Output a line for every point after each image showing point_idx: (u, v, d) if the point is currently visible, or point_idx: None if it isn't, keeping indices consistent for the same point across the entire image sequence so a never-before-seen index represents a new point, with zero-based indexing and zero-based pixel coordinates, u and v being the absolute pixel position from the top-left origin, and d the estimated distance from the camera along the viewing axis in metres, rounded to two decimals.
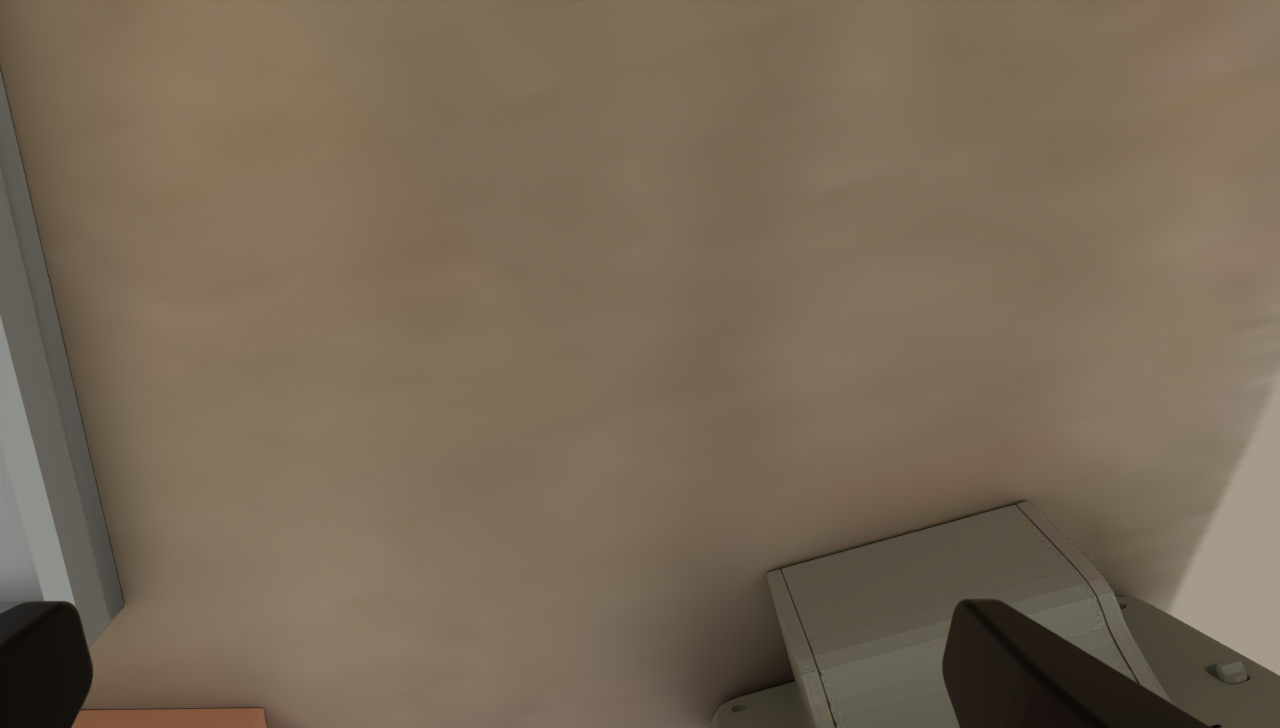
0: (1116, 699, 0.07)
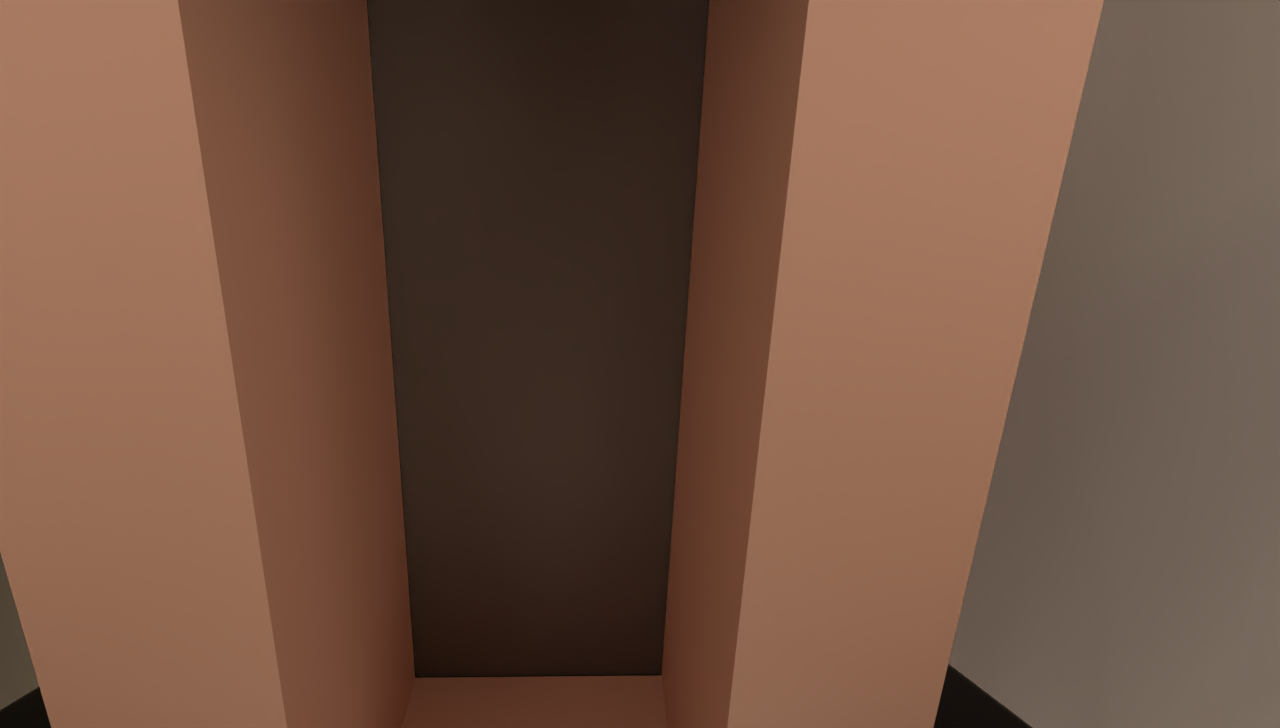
0: (947, 701, 0.06)
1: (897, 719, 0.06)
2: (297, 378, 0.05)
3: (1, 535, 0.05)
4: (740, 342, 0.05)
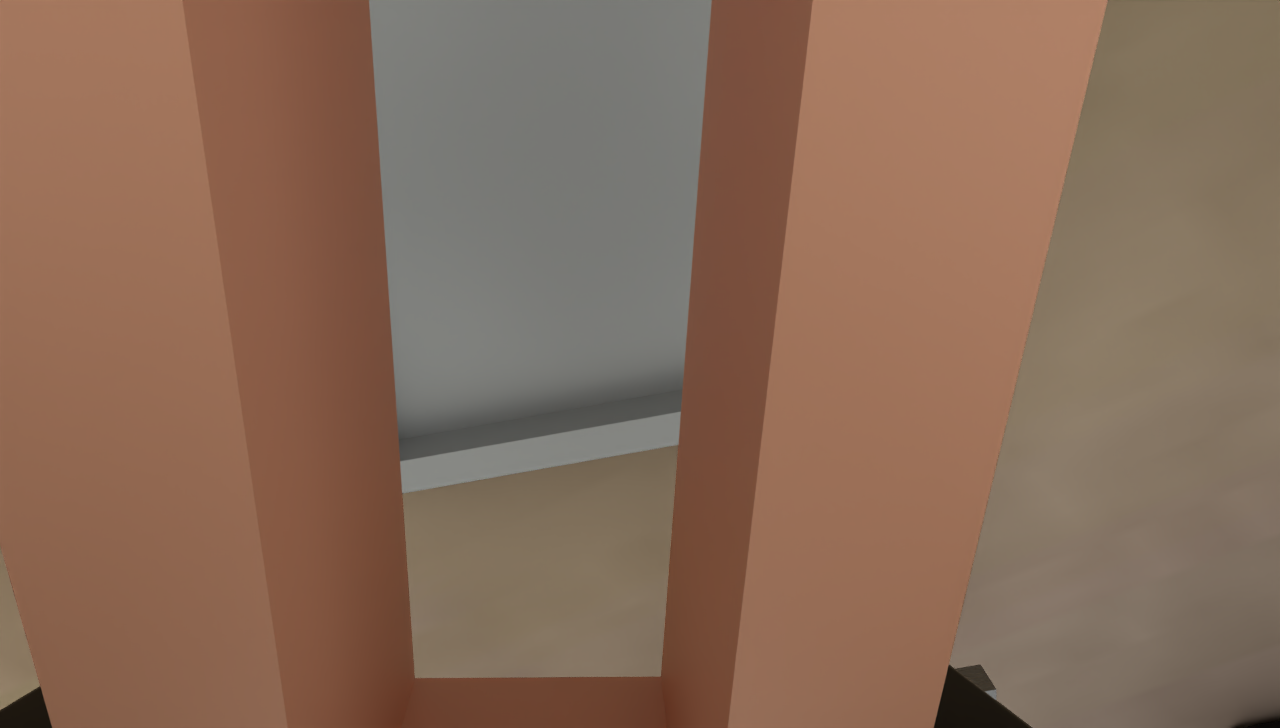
0: (947, 701, 0.06)
1: (896, 721, 0.06)
2: (301, 380, 0.05)
3: (3, 535, 0.05)
4: (742, 345, 0.05)
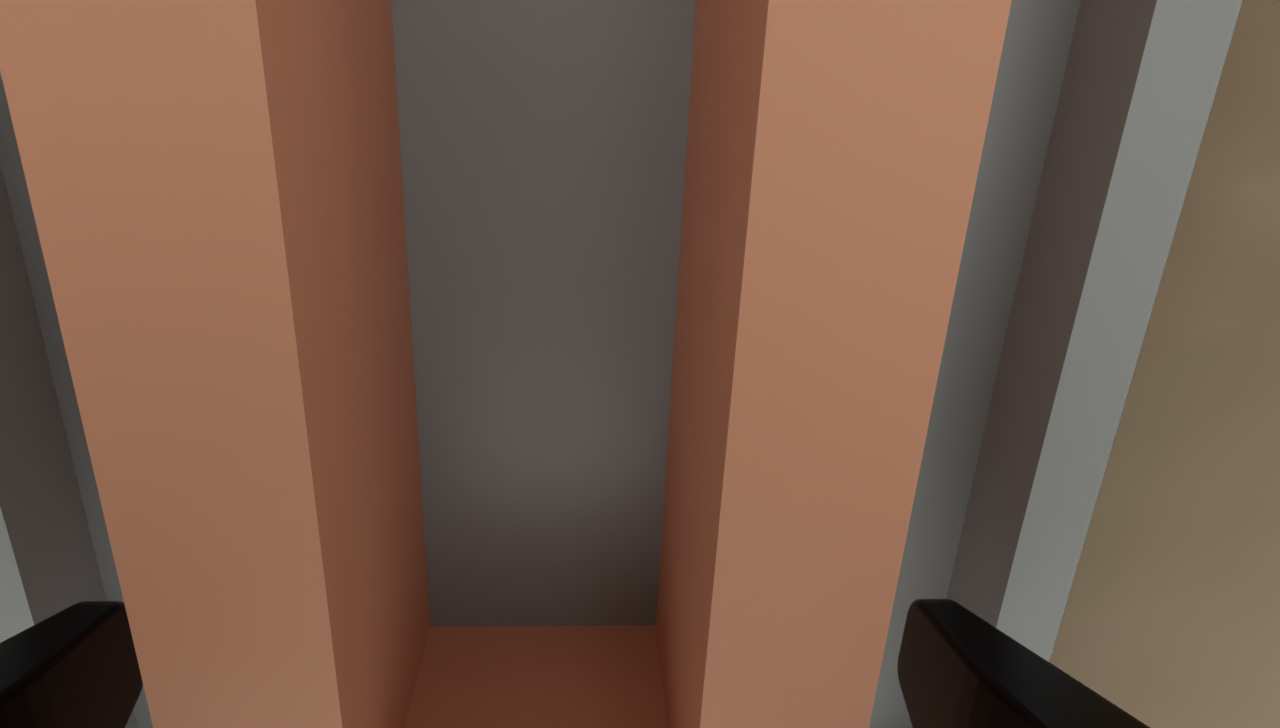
0: (1058, 700, 0.06)
1: (854, 631, 0.07)
2: (339, 337, 0.06)
3: (96, 463, 0.06)
4: (718, 305, 0.06)
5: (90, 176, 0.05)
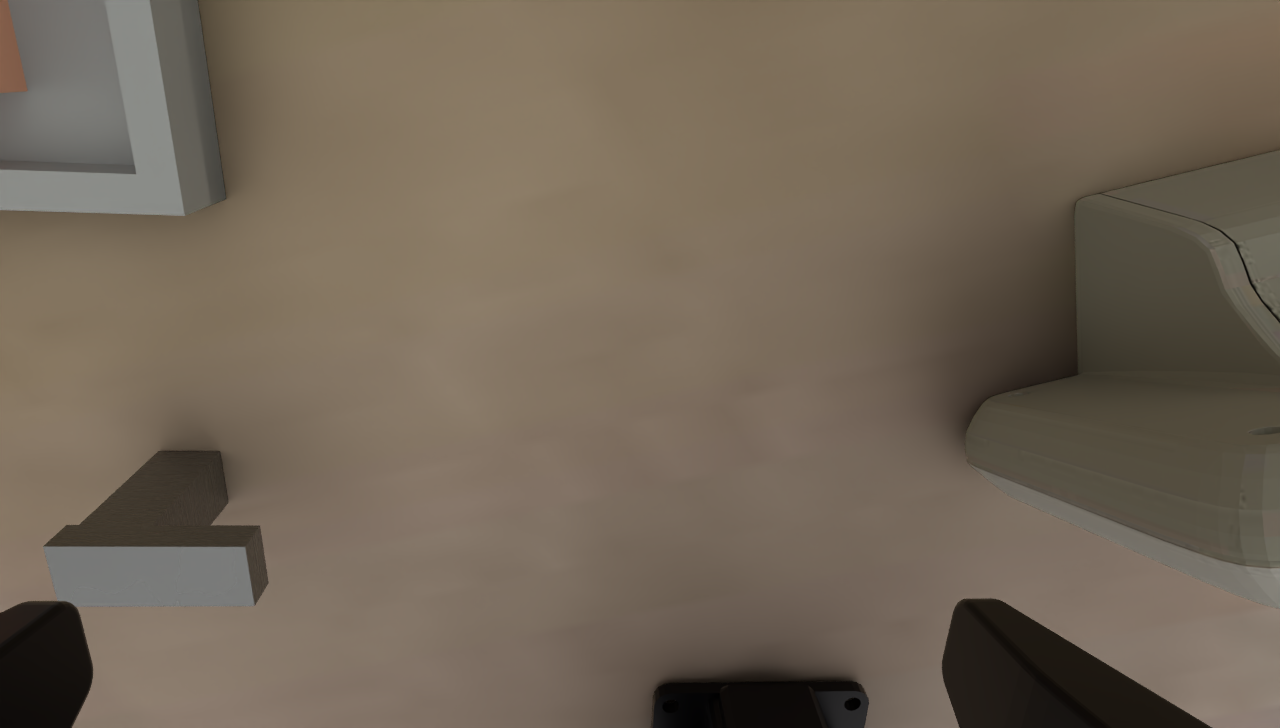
0: (1116, 700, 0.07)
1: None
2: None
3: None
4: None
5: None
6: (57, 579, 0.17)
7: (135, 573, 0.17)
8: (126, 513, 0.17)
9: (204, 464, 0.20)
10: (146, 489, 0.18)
